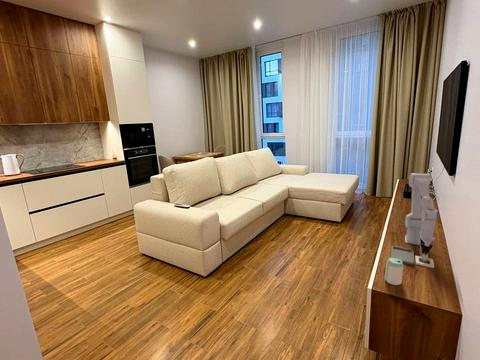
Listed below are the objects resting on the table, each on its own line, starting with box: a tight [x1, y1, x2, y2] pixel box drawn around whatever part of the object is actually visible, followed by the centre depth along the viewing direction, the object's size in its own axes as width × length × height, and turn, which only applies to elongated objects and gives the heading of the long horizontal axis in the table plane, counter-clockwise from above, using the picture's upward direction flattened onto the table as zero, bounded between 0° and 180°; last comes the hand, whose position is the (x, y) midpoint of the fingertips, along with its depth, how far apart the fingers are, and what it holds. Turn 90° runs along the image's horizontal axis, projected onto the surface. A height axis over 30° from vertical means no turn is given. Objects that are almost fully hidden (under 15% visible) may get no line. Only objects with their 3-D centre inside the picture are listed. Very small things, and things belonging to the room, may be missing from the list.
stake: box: [421, 251, 429, 264], centre depth 140 cm, size 4×2×6 cm, turn 149°
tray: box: [390, 245, 416, 266], centre depth 147 cm, size 16×11×2 cm
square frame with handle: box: [414, 245, 435, 269], centre depth 141 cm, size 12×8×6 cm
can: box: [384, 256, 404, 286], centre depth 125 cm, size 7×7×12 cm
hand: (423, 251), depth 145 cm, fingers open, 7 cm apart
